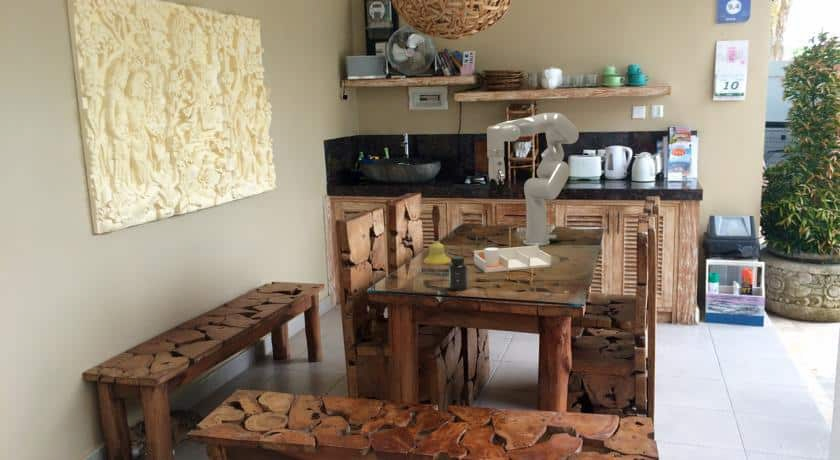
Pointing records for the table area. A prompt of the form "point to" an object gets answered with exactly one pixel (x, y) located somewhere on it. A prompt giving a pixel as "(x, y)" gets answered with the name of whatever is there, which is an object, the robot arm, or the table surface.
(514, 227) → the table surface
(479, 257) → the rack
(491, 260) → the white and grey cylinder
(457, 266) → the supplement bottle
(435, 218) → the handbell
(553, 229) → the table surface
